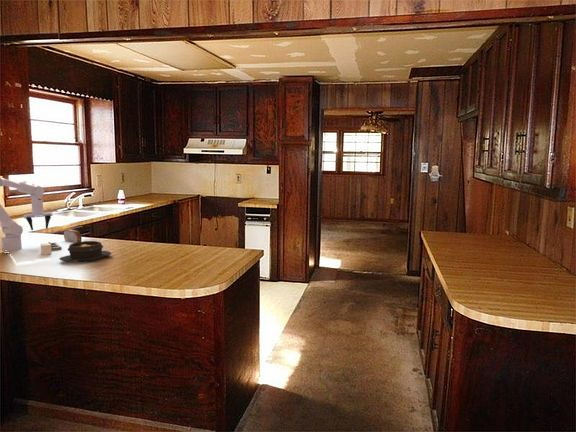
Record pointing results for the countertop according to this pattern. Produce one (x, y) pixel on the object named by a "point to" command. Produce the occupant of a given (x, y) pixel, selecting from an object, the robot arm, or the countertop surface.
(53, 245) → the grey rectangular hollow block
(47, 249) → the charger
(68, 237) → the tin
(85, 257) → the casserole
